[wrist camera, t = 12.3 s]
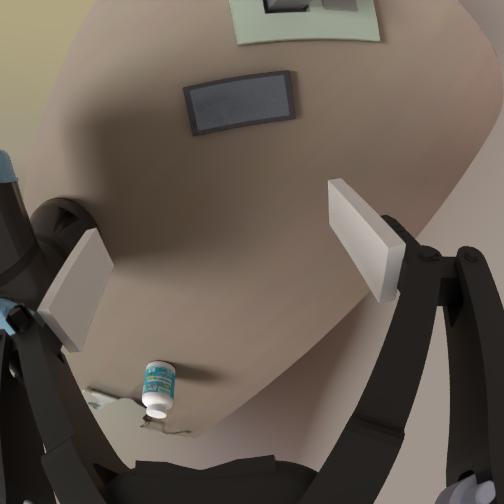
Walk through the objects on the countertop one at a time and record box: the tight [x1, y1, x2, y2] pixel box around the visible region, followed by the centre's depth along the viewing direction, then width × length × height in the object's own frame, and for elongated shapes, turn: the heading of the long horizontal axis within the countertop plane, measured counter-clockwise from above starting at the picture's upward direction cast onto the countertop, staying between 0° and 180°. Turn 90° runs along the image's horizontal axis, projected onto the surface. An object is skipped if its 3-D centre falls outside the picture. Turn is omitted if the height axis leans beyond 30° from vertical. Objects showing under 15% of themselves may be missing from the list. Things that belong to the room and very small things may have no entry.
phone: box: [183, 70, 296, 136], centre depth 34 cm, size 14×7×1 cm, turn 99°
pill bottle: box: [142, 361, 175, 418], centre depth 60 cm, size 8×7×14 cm
